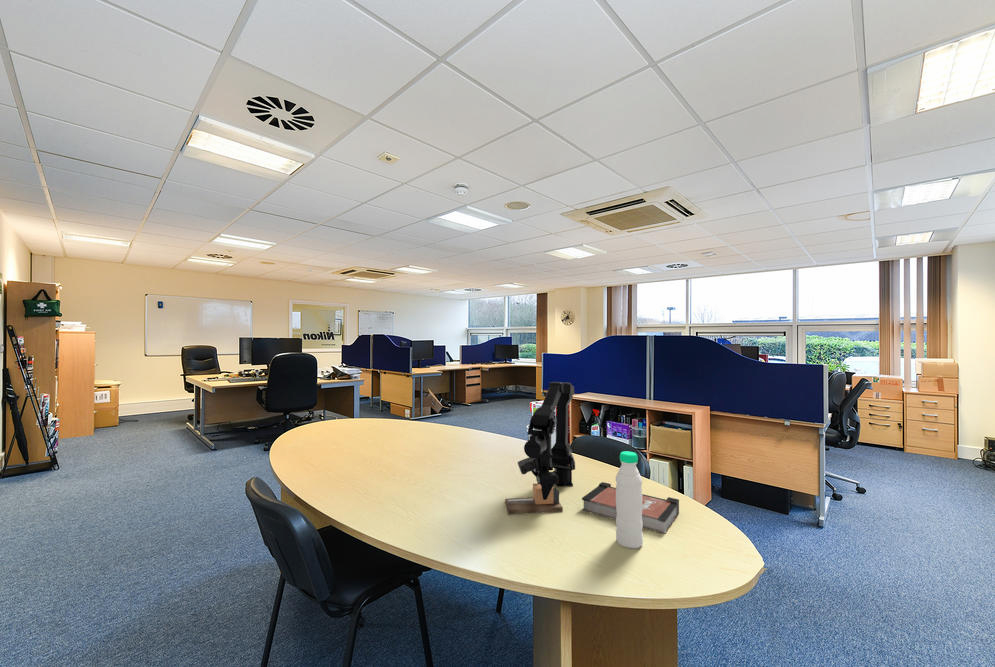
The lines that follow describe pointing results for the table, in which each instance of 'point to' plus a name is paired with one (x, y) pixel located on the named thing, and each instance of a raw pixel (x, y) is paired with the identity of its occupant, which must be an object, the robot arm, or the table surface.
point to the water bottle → (629, 502)
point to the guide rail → (532, 501)
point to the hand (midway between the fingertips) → (543, 496)
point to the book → (654, 509)
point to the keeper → (538, 495)
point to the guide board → (532, 507)
